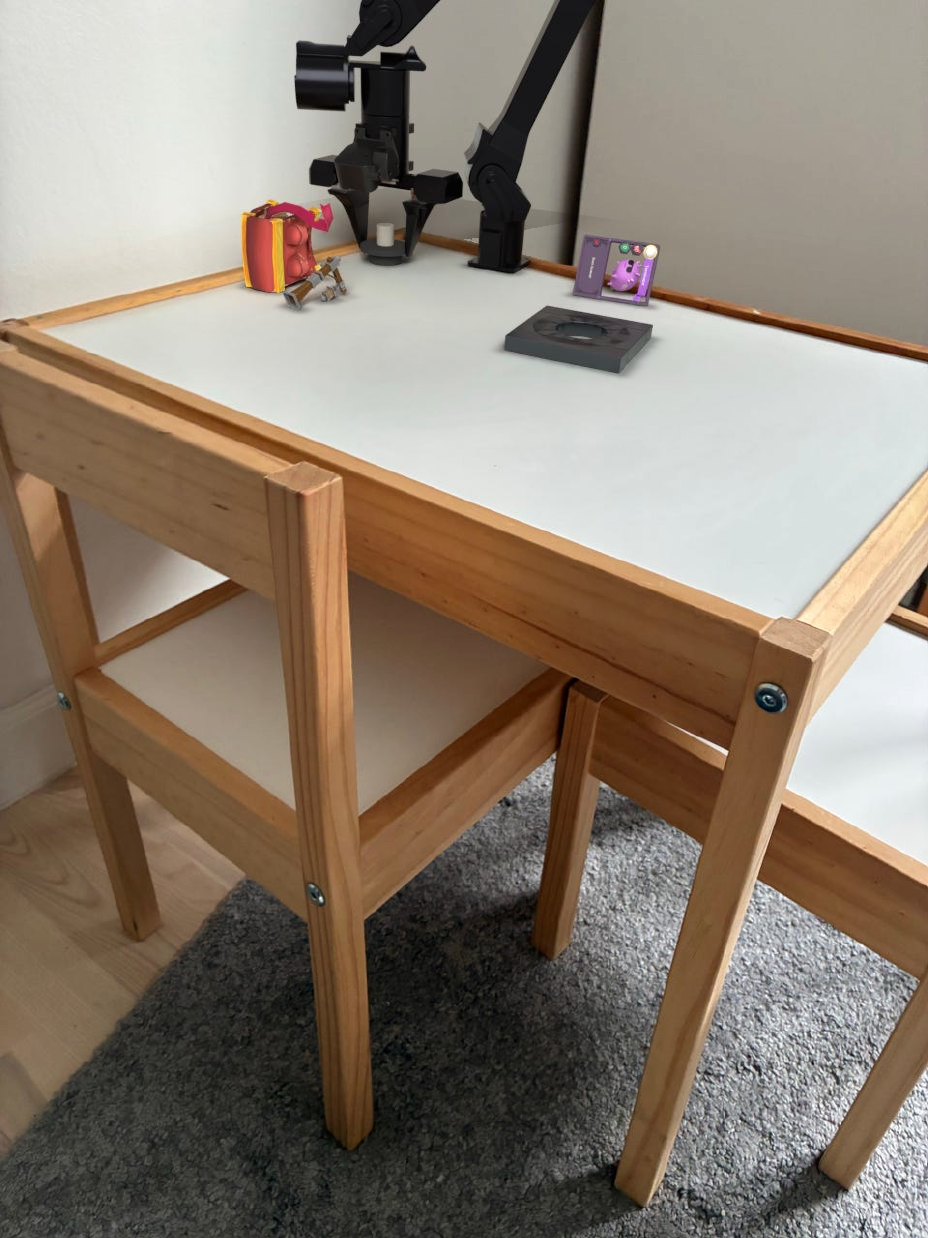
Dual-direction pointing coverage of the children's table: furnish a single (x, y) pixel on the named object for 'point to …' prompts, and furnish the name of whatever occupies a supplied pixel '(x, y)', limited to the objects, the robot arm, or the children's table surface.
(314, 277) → the toy blunderbuss
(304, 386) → the children's table surface
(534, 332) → the sink plate
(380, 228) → the stopper
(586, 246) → the game card
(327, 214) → the book monster
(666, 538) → the children's table surface
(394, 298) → the children's table surface
